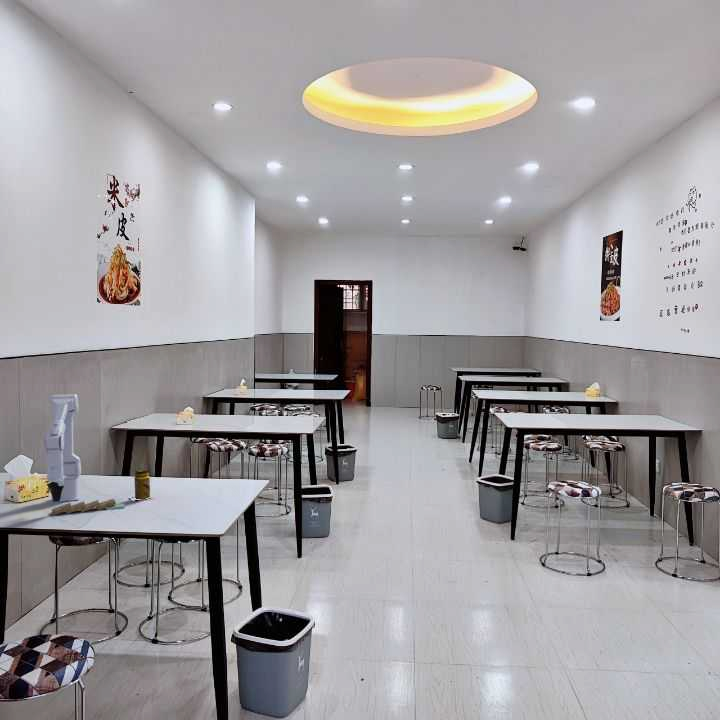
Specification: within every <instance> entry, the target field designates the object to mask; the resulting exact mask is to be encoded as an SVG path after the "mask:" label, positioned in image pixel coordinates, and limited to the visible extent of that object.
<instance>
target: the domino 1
mask: <svg viewBox="0 0 720 720" xmlns="http://www.w3.org/2000/svg"><path fill="white" fill-rule="evenodd" d="M71 506H72V504H71V502H67V503H66V504H62V505H60V506H58V507H54V508H52V509H51V514H52V516H56V515H59V514H61V513H63V512H66V510H69V509H72V507H71Z"/></svg>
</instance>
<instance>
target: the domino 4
mask: <svg viewBox="0 0 720 720" xmlns="http://www.w3.org/2000/svg"><path fill="white" fill-rule="evenodd" d="M115 504H117V502H116V500H115V499H114V498H111V499H108V500H105V501H102V502H99V505H100V506H98V507H95V508H96V509H97V510H98V511H100V510H102V509H106V507H109V506H112V505H115Z"/></svg>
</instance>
